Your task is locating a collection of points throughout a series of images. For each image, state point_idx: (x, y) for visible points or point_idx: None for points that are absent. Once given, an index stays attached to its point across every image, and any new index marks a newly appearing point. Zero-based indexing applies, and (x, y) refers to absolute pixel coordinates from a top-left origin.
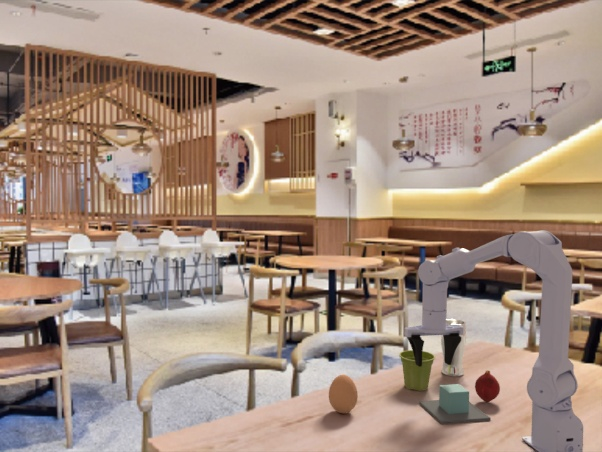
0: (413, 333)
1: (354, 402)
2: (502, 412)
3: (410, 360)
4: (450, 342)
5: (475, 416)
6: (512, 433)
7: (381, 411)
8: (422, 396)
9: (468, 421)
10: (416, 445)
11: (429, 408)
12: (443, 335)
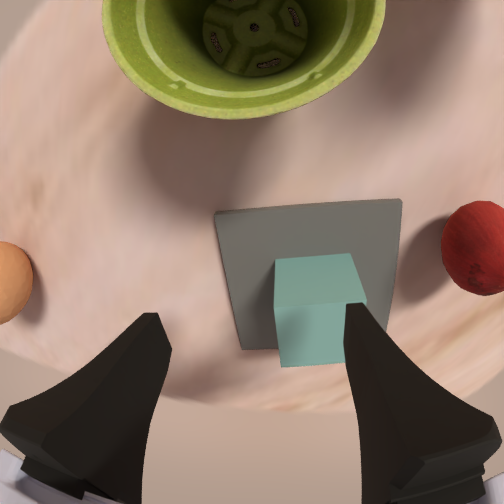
0: (54, 498)
1: (26, 302)
2: (445, 293)
3: (152, 95)
4: (367, 478)
5: None
6: None
7: (94, 260)
8: (249, 138)
9: None
10: (169, 395)
11: (233, 276)
12: (402, 453)
